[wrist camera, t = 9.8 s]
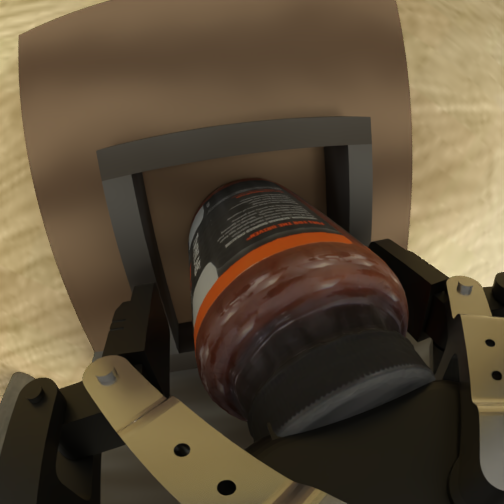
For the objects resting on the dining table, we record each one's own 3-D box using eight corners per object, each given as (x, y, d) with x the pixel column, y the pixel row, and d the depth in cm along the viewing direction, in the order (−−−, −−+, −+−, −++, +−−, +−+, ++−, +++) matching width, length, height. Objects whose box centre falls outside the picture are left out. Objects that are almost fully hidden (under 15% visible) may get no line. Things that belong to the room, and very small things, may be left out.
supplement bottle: (161, 233, 14) (132, 462, 4) (258, 149, 13) (450, 236, 3) (241, 308, 17) (307, 507, 7) (326, 239, 16) (479, 391, 6)
